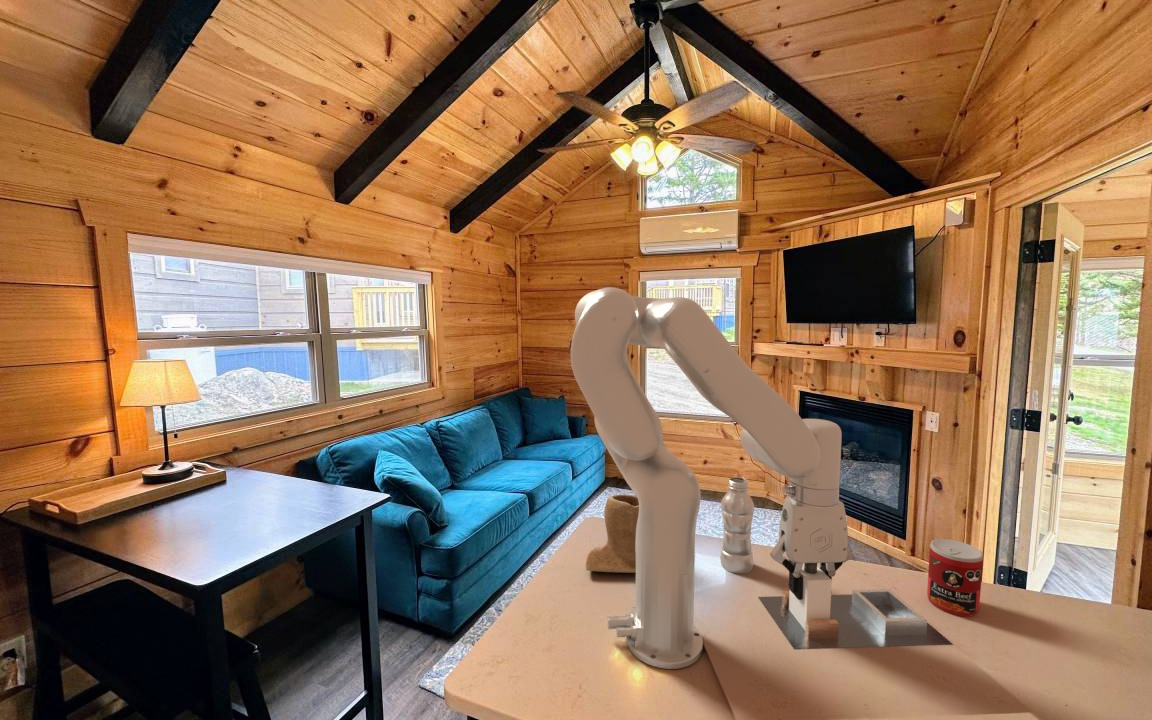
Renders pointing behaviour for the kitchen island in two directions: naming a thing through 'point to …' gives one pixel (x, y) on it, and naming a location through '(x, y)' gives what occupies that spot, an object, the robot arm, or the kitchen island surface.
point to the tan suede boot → (617, 537)
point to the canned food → (954, 577)
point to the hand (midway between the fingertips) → (809, 593)
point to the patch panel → (856, 622)
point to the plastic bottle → (737, 527)
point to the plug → (812, 596)
